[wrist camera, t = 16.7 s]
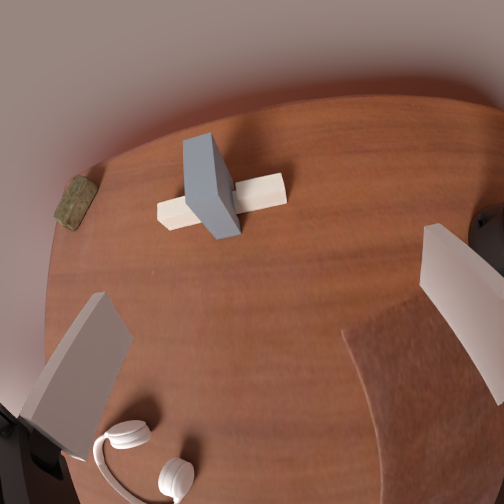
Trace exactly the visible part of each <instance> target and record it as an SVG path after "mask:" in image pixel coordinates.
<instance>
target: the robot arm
mask: <svg viewBox="0 0 504 504" xmlns="http://www.w3.org/2000/svg"><path fill="white" fill-rule="evenodd" d="M420 286H421V287H422V289H423V290H424V291H425V293H426V294H427V295H428V296H429V298H430V299H431V300H432V302H433V303H434V304H435V306H436V307H437V309H438V310H439V311H440V313H441V314H442V315H443V317H444V318H445V320H446V321H447V322H448V324H449V325H450V327H451V328H452V330H453V331H454V333H455V334H456V336H457V337H458V339H459V340H460V342H461V343H462V345H463V346H464V348H465V349H466V351H467V352H468V354H469V356H470V357H471V359H472V360H473V362H474V364H475V365H476V367H477V369H478V370H479V372H480V374H481V375H482V377H483V379H484V381H485V382H486V384H487V386H488V388H489V390H490V391H491V393H492V395H493V397H494V399H495V401H496V403H497V405H500V404H501V403H503V402H504V202H503V203H498V204H494V205H489V206H487V207H485V208H483V209H482V210H481V211H479V212H478V213H477V214H476V215H475V216H474V218H473V220H472V222H471V225H470V229H469V246H467V245H466V244H465V243H464V242H462V241H461V240H460V239H459V238H457V237H456V236H455V235H454V234H452V233H451V232H450V231H449V230H447V229H446V228H445V227H443V226H442V225H441V224H439V223H438V224H433V225H429V226H424V241H423V255H422V267H421V276H420ZM132 341H133V336H132V335H131V333H130V332H129V330H128V329H127V327H126V325H125V324H124V322H123V320H122V319H121V317H120V315H119V314H118V312H117V310H116V308H115V307H114V305H113V303H112V301H111V300H110V298H109V296H108V294H107V292H106V291H105V292H100V293H94V294H93V295H92V296H91V298H90V299H89V300H88V302H87V303H86V305H85V306H84V307H83V309H82V310H81V312H80V313H79V315H78V316H77V318H76V319H75V320H74V322H73V323H72V325H71V326H70V328H69V329H68V331H67V332H66V334H65V335H64V337H63V339H62V340H61V342H60V343H59V345H58V346H57V348H56V350H55V351H54V353H53V354H52V356H51V358H50V359H49V361H48V363H47V364H46V366H45V368H44V370H43V371H42V373H41V375H40V376H39V378H38V380H37V382H36V383H35V385H34V387H33V389H32V391H31V393H30V395H29V396H28V398H27V400H26V402H25V404H24V406H23V408H22V410H21V412H20V414H19V416H18V418H16V417H14V416H13V415H12V414H11V413H10V412H9V411H8V410H7V409H6V408H5V407H4V406H3V405H2V404H1V403H0V504H80V501H79V499H78V496H77V493H76V491H75V488H74V485H73V482H72V479H71V476H70V473H69V469H68V466H67V462H66V460H65V458H64V456H63V455H61V454H60V453H61V450H63V451H64V452H66V453H67V454H69V455H70V456H71V457H73V458H76V459H79V460H83V461H86V462H87V458H88V455H89V452H90V449H91V446H92V443H93V440H94V437H95V434H96V431H97V429H98V426H99V423H100V420H101V417H102V415H103V412H104V409H105V407H106V404H107V401H108V399H109V396H110V394H111V391H112V388H113V386H114V383H115V381H116V378H117V376H118V374H119V371H120V369H121V366H122V364H123V362H124V359H125V357H126V354H127V352H128V350H129V348H130V345H131V343H132ZM495 504H504V479H503V482H502V485H501V488H500V491H499V493H498V496H497V499H496V501H495Z"/></svg>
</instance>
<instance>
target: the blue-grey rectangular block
mask: <svg viewBox="0 0 504 504" xmlns="http://www.w3.org/2000/svg"><path fill="white" fill-rule="evenodd" d="M183 161H184V185H185V203H186V205H187V206H188V207H189V208H190V209H191V210H192V212H193V213H194V214H195V215H196V216H197V217H198V219H199V220H200V221H201V222H202V223H203V224H204V225H205V227H206V228H207V229H208V230H209V231H210V232H211V234H212V235H213V236H214V237H215V238H216V239H222V238H226V237H231V236H235V235H240V234H241V229H240V223H239V219H238V217H237V215H236V213H235V208H234V202H233V195H232V191H234V184H233V180H232V178H231V175H230V173H229V171H228V169H227V166H226V164H225V162H224V160H223V158H222V155H221V153H220V151H219V149H218V147H217V145H216V142H215V140H214V138H213V136H212V134H211V133H207V134H204V135H200V136H197V137H193V138H190V139H187V140H184V141H183Z"/></svg>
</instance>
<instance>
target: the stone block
mask: <svg viewBox="0 0 504 504" xmlns="http://www.w3.org/2000/svg"><path fill="white" fill-rule="evenodd" d="M97 189H98V187H97V185H96V184H95V183H94V182H93V181H92V180H90V179H89V178H87V177H85V176H81V175H77V176H76V177H75V178H73V180H72V182H71V184H70V185H69V187H68V189H67V190H66V192H65V194H64V196H63V198H62V200H61V202H60V204H59V205H58V207H57V210H56V211H55V214H54V217H55V218H56V219H57V221H58V222H59V223H60V224H61V225H62V226H64V227H65V228H67V229H69V230H71V231H75V230H76V229H77V228H78V226H79V224H80V222H81V221H82V219H83V217H84V215H85V213H86V211H87V209H88V207H89V205H90V204H91V201H92V200H93V198H94V196H95V194H96V192H97Z"/></svg>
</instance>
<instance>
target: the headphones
mask: <svg viewBox="0 0 504 504" xmlns="http://www.w3.org/2000/svg"><path fill="white" fill-rule="evenodd" d="M151 437H152V433H151V431H150V430H149V428H148V426H147V425H146V423H145V422H144V421H139V420H131V421H126V422H122V423H119V424H116V425H114V426H112V427H111V428H110V429H109V430H108V431H106V432H105V433H104V435H102V436H100V437H99V438H98V439H97V440H96V441H95V443H94V447H93V453H94V458H95V461H96V463H97V465H98V467H99V469H100V471H101V472H102V474H103V475H104V477H105V478H106V479H107V481H108V482H109V483H110V484H111V485H112V486H113V488H114V489H115V490H116V491H118V492H119V493H120V494H121V495H122V496H123V497H124V498H125V499H127V500H128V501H129V502H131V503H132V504H146V503H144V502H142V501H140V500H139V499H137V498H136V497H134V496H133V495H131V494H130V493H129V492H128V491H126V490H125V489H124V488H123V487H122V486H121V485H120V484H119V483H118V482H117V481H116V479H115V478H114V477H113V476H112V474H111V473H110V471H109V469H108V468H107V466H106V464H105V462H104V456H103V451H102V445H103V442H104V440H105V439H106V438H109V440H110V441H111V442H110V443H111V445H112V446H113V447H114V448H117V449H126V448H131V447H135V446H138V445H140V444H143V443H145V442H147V441H148V440H149V439H150V438H151ZM193 480H194V468H193V465H192V464H191V463H190V462H187V461H185V460H182V459H181V458H178V457H174V458H171V459H170V460H168V461H167V463H166V464H165V465H164V467H163V468H162V470H161V473H160V476H159V481H158V485H159V489H160V491H161V492H162V493H163V494H164V495H167V496H171V497H174V499H173V500H174V504H180V502H181V500H182V498H183V497H184V496H185V495H186V494H187V492H188V491H189V490H190V488H191V486H192V484H193Z"/></svg>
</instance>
